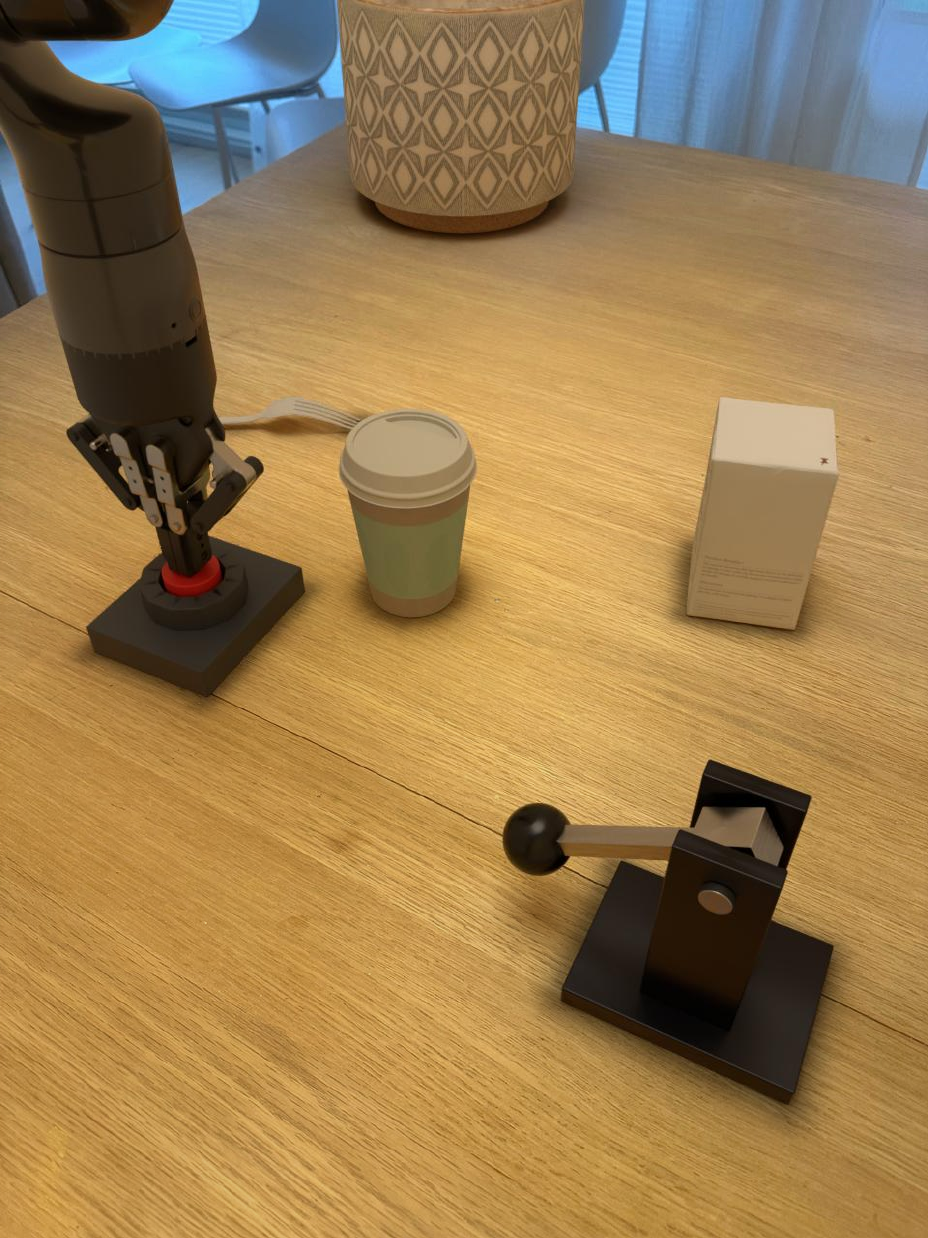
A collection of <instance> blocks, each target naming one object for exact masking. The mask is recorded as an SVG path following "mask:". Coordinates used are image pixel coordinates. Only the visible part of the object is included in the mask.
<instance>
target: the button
mask: <svg viewBox="0 0 928 1238" xmlns="http://www.w3.org/2000/svg"><path fill="white" fill-rule="evenodd" d="M162 577H163V581H164V585H165V589H166V593H169V594H172V595H174V596H177V597H196V596H199V595H202V594H204V593H207V592H209V591H212V590H214V589H215V588H216V587H217V586H218V585H219V584H220V583H221V582H222V581H223V579H222V574H221V570H220V565H219V562H218V560H217V558H216V557H215V556H213V555H212V557H211V560H210V561H208V562H207V564H206V565H205V566H204V567H203V568H202V569H200V570H199V571H198V572H197V573H196V574H195V575H194V576H193V577H191V578H190V577H187V576H184V575H181V574H178V573H176V572H173V571H170V569H169V566H168V562H166V563H165V565H164V566H163V569H162Z"/></svg>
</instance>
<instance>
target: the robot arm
mask: <svg viewBox="0 0 928 1238" xmlns="http://www.w3.org/2000/svg"><path fill="white" fill-rule="evenodd" d="M174 2H175V0H0V133H1V135H2V137H3V139H4V140H5V142H6V145H7V147H8V149H9V151H10V153H11V155H12V157H13V160H14V163H15V167H16V170H17V173H18V176H19V177H18V178H19V180H20V184H21V187H22V191H23V194H24V198H25V201H26V205H27V209H28V213H29V215H30V220H31V222H32V227H33V230H34V233H35V235H36V240H37V245H38V249H39V253H40V259H41V260H40V261H41V269H42V276H43V281H44V287H45V290H46V294H47V298H48V300H49V304H50V308H51V311H52V314H53V317H54V318H53V319H54V321H55V325H56V328H57V332H58V336H59V338H60V342H61V346H62V349H63V352H64V353H63V354H64V356H65V359H66V363H67V366H68V370H69V373H70V377H71V380H72V384H73V387H74V390H75V394H76V397H77V400H78V402H79V404H80V405H81V407H82V408H83V409H84V411H86V412H87V413H88V414H87V415H85V416H84V417H82V418H81V419H79V420H78V421H76V422H75V423H74V424H72V425H71V426H70V427H68V428H67V429H66V432H65V433H66V437H67V439H68V440H69V442H71V444H72V445H73V446H74V447H75V449H76V450H77V451H78V452H79V454H80V455H81V457H83V459H85V461H86V462H87V463H88V465H89V466H90V467H91V468H92V470H94V472H95V473H96V474H97V475H98V476H99V478H100V479H101V480H102V481H103V483H104V484H105V485H106V486H107V487H108V489H109V490H110V491H111V492H112V494H113V495H114V496H115V497H116V499H118V501H119V502H120V503H121V505H123V507H125V509H127V510H129V511H135V510H137V509H139V510H141V511H142V512H144V515H145V518H146V520H147V521H148V523H149V524H151V526H153V527H154V528H155V531H156V536H157V539H158V541H159V546H160V551H161V553H162V554H163V556H164V558H165V560H166V561H167V562H168V566H169V569H170V571H173V572H176V573H178V574H181V575H184V576H187V577H190V578H191V577H193V576H194V575H195V574H196V573H197V572H198V571H199V570H200V569H202V568H203V567H204V566H205V565H206V564H207V562H208V561H210V560H211V557H212V550H211V547H210V546H211V545H210V542H209V536H210V535H209V532H210V531H211V530H212V529H213V528H214V526H215V525H216V524H218V523H219V522H220V521H221V520H222V519H223V518H224V517H226V516H228V514H230V513H231V512H232V511H233V510H234V508H235V507H236V506H237V504H238V503H239V502H240V501H241V500H242V499H243V498H244V496H245V495H246V494H247V492H248V491H249V490H250V489H251V488H252V486H253V485H254V484H255V483H256V482H257V480H258V479H259V478H260V477H261V475H262V474H263V473H264V472H265V467H264V464H263V463H262V461H261V460H260V459H259V458H258V457H256V456H254V455H248V456H247V457H246V458H245V459H242V458H241V457H240V456H239V455H238V454H237V453H236V452H235V450H233V449H232V448H231V447H230V446H229V445H228V444H227V443H226V436H227V435H226V429H225V427H224V424H222V423H221V421H220V420H219V418H218V417H219V416H218V414H217V412H216V410H215V407H214V406H215V405H214V402H215V401H214V400H215V393H216V389H217V381H218V375H217V369H216V364H215V358H214V353H213V352H214V351H213V346H212V341H211V336H210V330H209V325H208V320H207V315H206V308H205V302H204V298H203V293H202V287H201V282H200V277H199V271H198V267H197V261H196V259H195V255H194V252H193V248H192V245H191V242H190V240H189V237H188V234H187V231H186V227H185V221H184V217H183V212H182V207H181V201H180V197H179V196H180V195H179V190H178V186H177V181H176V175H175V169H174V165H173V159H172V154H171V147H170V143H169V137H168V133H167V130H166V126H165V123H164V121H163V117H162V116H161V114H160V112H159V111H158V108H156V106H155V105H154V104H153V103H152V102H150V101H149V100H148V99H146V98H144V97H143V96H141V95H139V94H137V93H135V92H131V91H129V90H125V89H121V88H118V87H115V86H110V85H107V84H103V83H100V82H96V81H93V80H90V79H87V78H84V77H82V76H80V75H78V74H76V73H74V72H73V71H71V70H70V69H69V68H67V67H66V66H65V64H64V63H63V62H62V61H61V60H60V58H59V57H58V56H57V55H56V53H55V52H54V51H53V49H52V48H51V46H50V45H49V43H48V42H124V41H130V40H135V39H139V38H142V37H144V36H145V35H146V36H147V34H149V33H150V32H152V31H153V30H155V29H156V28H157V27H158V26H160V24H161V23H162V22H163V21H164V19H165V18H166V17H167V16H168V14H169V12H170V10H171V8H172V6H173V3H174ZM210 465H212V471H211V470H210ZM121 467H122V469H123V473H124V476H125V478H126V479H125V478H124V476H123V475H122V474H121V472H120V468H121ZM211 477H212V479H211ZM208 485H209V486H210V488H211V489H213V491H211V493H210V494H209V496H208V490H207V489H208V487H207V486H208Z"/></svg>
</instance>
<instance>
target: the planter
mask: <svg viewBox="0 0 928 1238" xmlns="http://www.w3.org/2000/svg"><path fill="white" fill-rule="evenodd" d="M585 2H586V0H336V7H337V21H338V32H339V33H338V34H339V46H340V60H341V73H342V75H341V76H342V85H343V86H342V87H343V98H344V99H343V100H344V101H343V102H344V113H345V129H346V141H347V153H348V154H347V155H348V165H349V177H350V181H351V184H352V185H353V187H354V188H355V189H356V190H357V191H358V192H359V193H360V194H362V195H363V196H364V197H365V198H367V199H369V200H371V201H372V202H374V204H375V207H376V208H377V209H378V211H379V212H380V213H381V214H382V215H383V216H385V217H386V218H387V219H389V220H391V221H393V222H395V223H398V224H400V225H403V226H406V227H409V228H413V229H417V230H422V231H426V232H434V233H442V234H443V233H444V234H477V233H489V232H495V231H501V230H505V229H511V228H513V227H516V226H519V225H523V224H525V223H527V222H529V221H531V220H533V219H535V218H536V217H538V216H540V215H541V214H542V213H543V212H544V211H545V210H546V208H547V207H548V205H549V202H550V201H552V200H553V199H555V198H556V197H558V196H560V195H561V194H562V193H563V192H565V190H567V189H569V186H570V185H571V183H572V181H573V178H574V169H575V168H574V167H575V156H576V155H575V154H576V153H575V152H576V141H577V140H576V137H577V124H578V111H579V109H578V108H579V94H580V93H579V92H580V77H581V64H582V63H581V62H582V49H583V33H584V31H583V30H584V19H585V18H584V17H585V4H586V3H585Z"/></svg>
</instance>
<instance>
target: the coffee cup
mask: <svg viewBox="0 0 928 1238" xmlns="http://www.w3.org/2000/svg"><path fill="white" fill-rule="evenodd" d="M354 425H355V426H354V427H353V426H352V430H350V431H349V432H348V434H347V436H346V438H345V442H344V447H343V448H342V451H341V453H340V456H339V465H338V476H339V480H340V481H341V483H342V485H343V486H344V488H345V489H346V490H347V495H348V500H349V503H350V507H351V508H350V509H351V513H352V517H353V521H354V525H355V530H356V534H357V538H358V542H359V547H360V551H361V555H362V556H361V557H362V560H363V565H364V568H365V572H366V577H367V581H368V585H369V590H370V593H371V597H372V600H373V601H374V603H375V604H376V605H377V606H378V607H379V608H380V609H382V610H383V611H384V612H386V613H389V614H391V615H393V616H398V617H403V618H421V617H427V616H430V615H433V614H435V613H438V612H440V611H441V610H443V609H445V608H446V607H447V606H448V605H449V604H450V603H452V601H453V599H454V598H455V595H456V591H457V584H458V578H459V572H460V564H461V556H462V551H463V542H464V535H465V527H466V520H467V514H468V513H467V512H468V506H469V500H470V499H469V498H470V490H471V484H472V483H473V481H474V480H475V478H476V476H477V475H476V474H477V471H478V463H477V459H476V454H475V450H474V448H473V446H472V444H471V443H470V440H469V437H468V435H467V432H466V431H465V429H464V427H463V426H462V425H461V424H460V423H459V422H458V421H456V420H455V419H453V418H451V417H449V416H447V415H445V414H443V413H440V412H437V411H433V410H430V409H429V410H428V409H423V408H396V409H390V410H385V411H382V412H378V413H375V414H372V415H369V416H368V417H365V418H363V419H362V420H360V421H358V424H354Z"/></svg>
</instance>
